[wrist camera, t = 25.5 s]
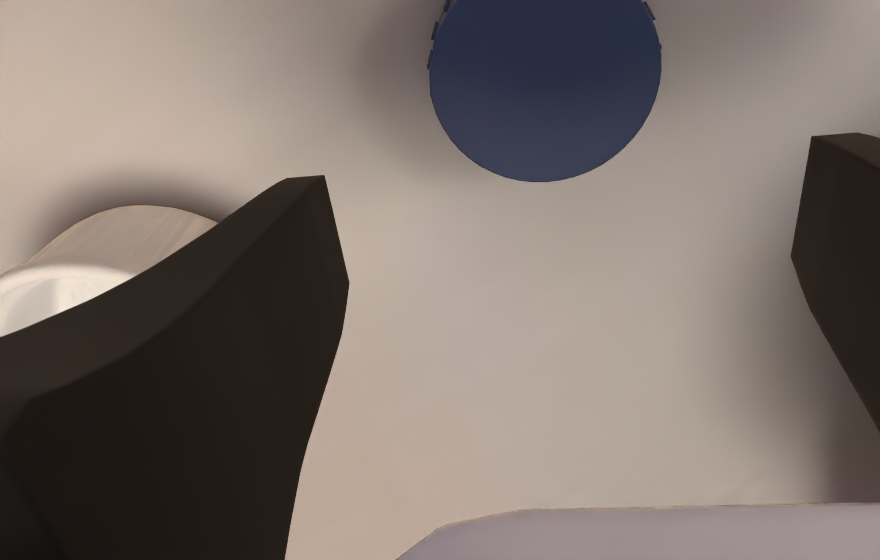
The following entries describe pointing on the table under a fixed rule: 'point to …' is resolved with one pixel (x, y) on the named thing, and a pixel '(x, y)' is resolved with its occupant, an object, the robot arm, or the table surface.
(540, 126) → the jar lid
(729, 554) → the robot arm
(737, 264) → the table surface
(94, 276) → the ramekin
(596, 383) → the table surface
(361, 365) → the table surface
